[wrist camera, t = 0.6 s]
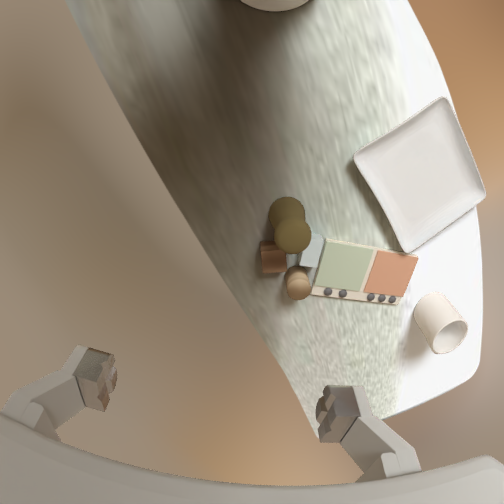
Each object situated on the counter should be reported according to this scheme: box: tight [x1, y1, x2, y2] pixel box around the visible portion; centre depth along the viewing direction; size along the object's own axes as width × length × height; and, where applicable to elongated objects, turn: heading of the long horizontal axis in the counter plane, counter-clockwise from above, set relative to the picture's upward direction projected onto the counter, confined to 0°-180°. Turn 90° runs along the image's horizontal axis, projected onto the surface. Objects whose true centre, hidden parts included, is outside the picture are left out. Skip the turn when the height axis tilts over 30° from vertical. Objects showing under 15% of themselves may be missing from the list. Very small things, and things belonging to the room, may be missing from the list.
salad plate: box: [353, 96, 486, 253], centre depth 47 cm, size 21×21×3 cm
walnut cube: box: [260, 241, 287, 273], centre depth 53 cm, size 4×4×4 cm
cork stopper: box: [285, 266, 311, 300], centre depth 54 cm, size 4×4×5 cm
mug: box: [414, 292, 468, 354], centre depth 56 cm, size 9×12×11 cm
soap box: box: [298, 233, 324, 268], centre depth 53 cm, size 5×3×3 cm, turn 171°
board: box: [311, 238, 418, 305], centre depth 56 cm, size 11×19×1 cm, turn 81°
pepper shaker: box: [269, 197, 311, 254], centre depth 47 cm, size 6×6×11 cm
